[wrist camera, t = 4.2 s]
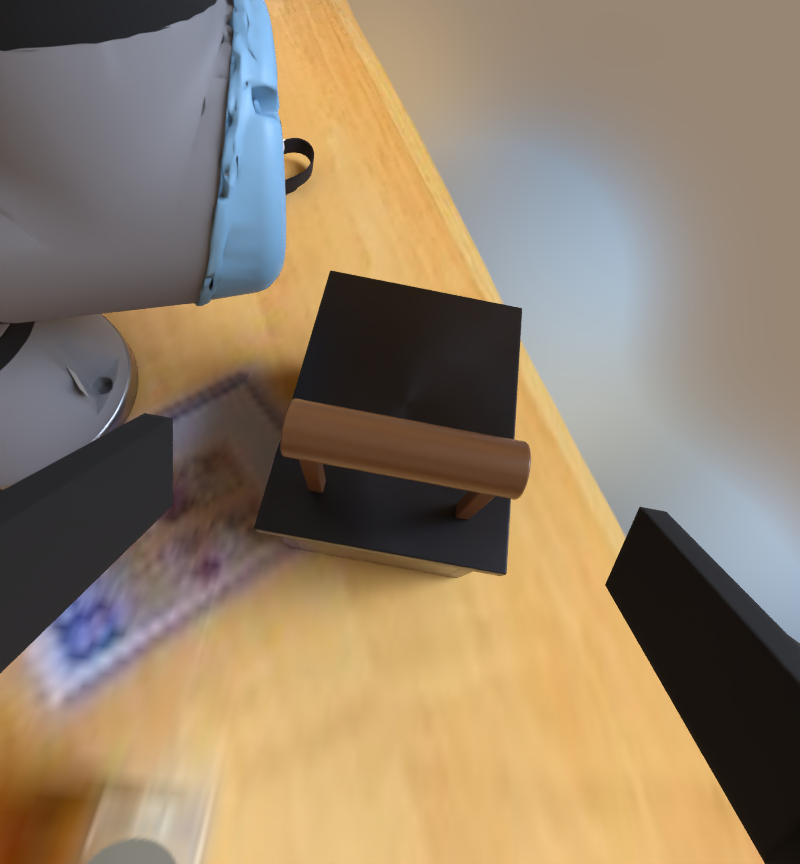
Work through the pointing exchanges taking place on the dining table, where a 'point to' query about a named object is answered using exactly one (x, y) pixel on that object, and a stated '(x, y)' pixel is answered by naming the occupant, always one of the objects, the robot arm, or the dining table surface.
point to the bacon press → (403, 428)
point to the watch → (305, 149)
